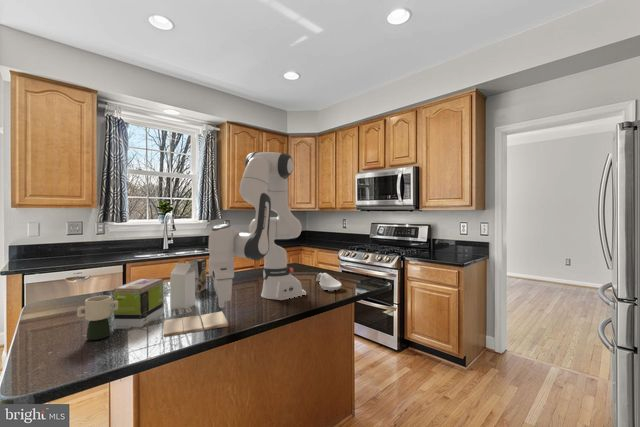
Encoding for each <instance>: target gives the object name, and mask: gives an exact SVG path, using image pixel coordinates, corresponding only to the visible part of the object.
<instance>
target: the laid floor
mask: <svg viewBox="0 0 640 427" xmlns="http://www.w3.org/2000/svg"><path fill="white" fill-rule="evenodd" d="M163 323H164V324H163V337H169V336H175V335H182V334H188V333H194V332H200V331H203V324H202V320H201V317H200V315H194V316H193V315H192V316H185V317H178V318H170V319H164V321H163Z"/></svg>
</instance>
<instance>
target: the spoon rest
mask: <svg viewBox="0 0 640 427" xmlns="http://www.w3.org/2000/svg"><path fill="white" fill-rule="evenodd" d="M316 281H320V282H319V283H318V284H319V286H320V288H321V289H322V290H324V291H325V290H328V291H327V292H335V291H334V290H336V291H339V290H340V289H341V288H342V286H343V285H342V283H341V281H339V280H337V279H335V278H334V277H333V276H331V275H330V274H329V273H327V272H320V273H318V274H317V276H316V279H315V282H316Z"/></svg>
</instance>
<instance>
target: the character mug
mask: <svg viewBox="0 0 640 427" xmlns="http://www.w3.org/2000/svg"><path fill="white" fill-rule="evenodd" d="M114 304H115V308H114V307H112V306H113V305H114ZM82 310H84V313H82ZM115 310H118V301H114V300H112V295H97V296H95V295H94V296H92V297H89V298H86V299H85V300H84V305H83V306H82V305H81V306H79V307H77V310H76V315H77V316H76V317H77V318H85V320H86V321H89V322H88V325H87V331H86V339H88V340H92V341H93V340H95V341H96V340H101V339H105V338H107V337H108V336H109V335H111V328H110V327H111V326H110V323H109V319H108V318H110V317H111V316H112V312H114V311H115Z"/></svg>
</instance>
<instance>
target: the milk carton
mask: <svg viewBox="0 0 640 427" xmlns="http://www.w3.org/2000/svg"><path fill="white" fill-rule="evenodd" d="M169 278H170V279H169V281H170V283H169V284H170V289H169V292H170V294H169V296H170V297H169V298H170V300H169V301H170V302H169V307H170V308H169V309H171V310H179V309H187V308H191V307H193V306H195V305H196V293H195V271H194V270H193V269H192V267H191V266H190V264H188V263H182V262H181V263H180V262H176V263H175V266H174V268H173V269H172V271H171V272H170V276H169Z"/></svg>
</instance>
